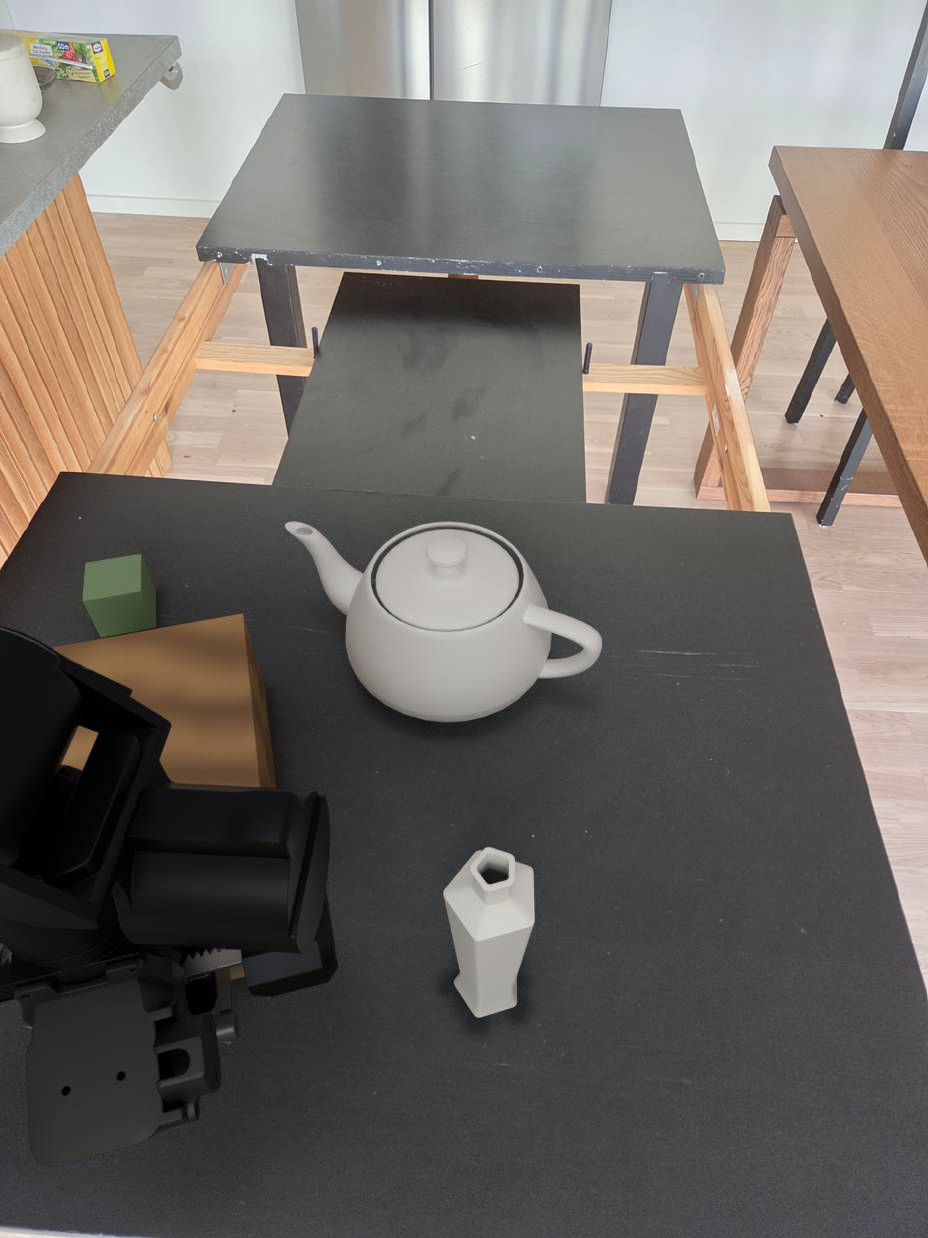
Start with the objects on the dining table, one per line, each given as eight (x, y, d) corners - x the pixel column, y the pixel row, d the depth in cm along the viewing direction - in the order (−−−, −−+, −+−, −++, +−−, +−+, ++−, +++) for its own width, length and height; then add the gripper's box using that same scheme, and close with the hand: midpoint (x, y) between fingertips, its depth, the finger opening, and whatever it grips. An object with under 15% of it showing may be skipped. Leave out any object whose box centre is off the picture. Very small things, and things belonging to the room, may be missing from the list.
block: (100, 638, 68) (82, 600, 65) (102, 600, 71) (85, 562, 68) (156, 628, 69) (140, 590, 66) (156, 590, 72) (141, 553, 69)
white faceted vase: (449, 943, 51) (444, 822, 40) (521, 945, 51) (536, 824, 40) (446, 1023, 48) (439, 915, 37) (522, 1025, 48) (539, 919, 37)
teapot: (620, 638, 68) (644, 524, 59) (554, 793, 58) (570, 685, 49) (350, 552, 75) (333, 437, 66) (251, 678, 65) (216, 564, 56)
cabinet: (284, 861, 55) (260, 792, 49) (84, 906, 53) (31, 841, 47) (265, 689, 65) (242, 613, 58) (94, 722, 63) (52, 647, 56)
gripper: (-255, 1196, 26) (-34, 1253, 38) (334, 1037, 30) (373, 1134, 41) (-170, 873, 34) (-6, 1003, 45) (296, 771, 37) (338, 918, 48)
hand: (173, 1015), depth 45 cm, fingers closed, pressing on drawer
